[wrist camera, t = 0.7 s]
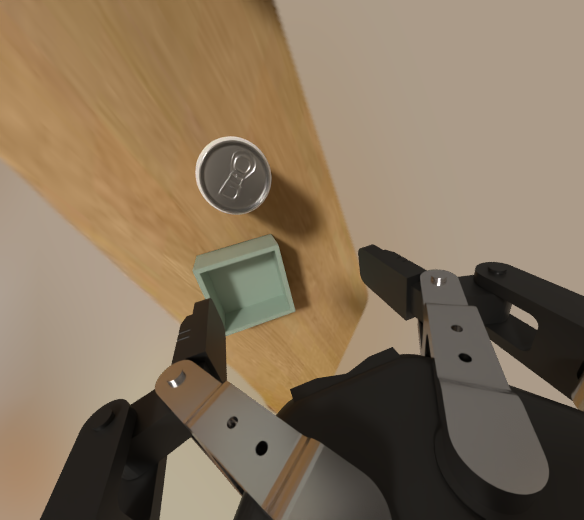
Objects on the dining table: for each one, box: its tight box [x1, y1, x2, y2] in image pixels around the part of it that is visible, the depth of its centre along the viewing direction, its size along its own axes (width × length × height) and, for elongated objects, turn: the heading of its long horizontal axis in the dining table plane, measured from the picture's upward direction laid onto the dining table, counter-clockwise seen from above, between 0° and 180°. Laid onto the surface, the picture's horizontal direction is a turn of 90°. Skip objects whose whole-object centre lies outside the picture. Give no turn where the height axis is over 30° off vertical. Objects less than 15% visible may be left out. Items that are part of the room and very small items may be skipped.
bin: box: [193, 234, 295, 336], centre depth 33 cm, size 11×11×5 cm
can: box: [196, 136, 271, 215], centre depth 24 cm, size 6×6×12 cm
